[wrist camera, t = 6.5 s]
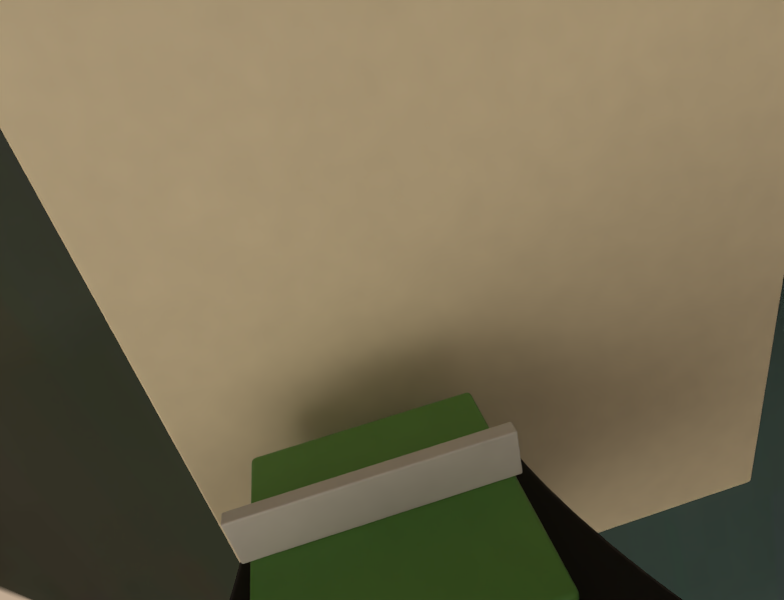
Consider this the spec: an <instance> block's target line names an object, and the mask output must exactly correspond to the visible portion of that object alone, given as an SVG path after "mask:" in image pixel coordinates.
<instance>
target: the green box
mask: <svg viewBox="0 0 784 600" xmlns="http://www.w3.org/2000/svg"><path fill="white" fill-rule="evenodd" d="M519 474H522V465H521V457H520V449H519V441H518V434H517V430H516V428H515V427H514V425H513V424H512V422H508V423H505V424H501V425H498V426H495V427H492V428H489V426H488V424H487V423H486V421H485V419H484V417H483V415H482V413H481V412H480V410H479V408H478V406H477V404H476V402H475V401H474V399H473V397H472V395H471V394H470V393H463V394H460V395H457V396H453V397H450V398H447V399H444V400H440V401H437V402H434V403H431V404H428V405H424V406H421V407H418V408H415V409H411V410H408V411H405V412H402V413H398V414H395V415H392V416H389V417H386V418H382V419H379V420H376V421H373V422H369V423H366V424H363V425H360V426H356V427H353V428H350V429H347V430H343V431H340V432H337V433H334V434H331V435H327V436H324V437H321V438H318V439H314V440H311V441H308V442H305V443H301V444H298V445H295V446H292V447H289V448H285V449H282V450H279V451H276V452H272V453H269V454H266V455H263V456H259V457H256V458H254V459H253V460H252V472H251V504H248V505H245V506H242V507H239V508H236V509H232V510H229V511H226V512H223V513H222V516H221V527H222V528H223V530H224V532H225V534H226V536H227V538H228V539H229V541H230V543H231V545H232V547H233V548H234V550H235V552H236V554H237V556H238V558H239V559H240V561H241V563H242V564H245V563H248V562H250V600H579V591H578V590H577V588H576V586H575V584H574V582H573V580H572V579H571V577H570V575H569V573H568V571H567V569H566V568H565V566H564V564H563V562H562V560H561V558H560V557H559V555H558V553H557V551H556V549H555V547H554V546H553V544H552V542H551V540H550V538H549V536H548V535H547V533H546V531H545V529H544V527H543V525H542V524H541V522H540V520H539V518H538V516H537V514H536V513H535V511H534V509H533V507H532V505H531V503H530V502H529V500H528V498H527V496H526V494H525V492H524V491H523V489H522V487H521V485H520V483H519V481H518V479H517V478H516V475H519Z"/></svg>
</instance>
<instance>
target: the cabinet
mask: <svg viewBox="0 0 784 600" xmlns="http://www.w3.org/2000/svg"><path fill="white" fill-rule="evenodd" d="M0 128H1V130H2V132H3V134H4V136H5V138H6V139H7V141H8V143H9V145H10V147H11V148H12V150H13V152H14V154H15V156H16V158H17V159H18V161H19V163H20V165H21V167H22V168H23V170H24V172H25V174H26V176H27V177H28V179H29V181H30V183H31V185H32V187H33V188H34V190H35V192H36V194H37V196H38V197H39V199H40V201H41V203H42V205H43V206H44V208H45V210H46V212H47V214H48V216H49V217H50V219H51V221H52V223H53V225H54V226H55V228H56V230H57V232H58V234H59V236H60V237H61V239H62V241H63V243H64V245H65V246H66V248H67V250H68V252H69V254H70V255H71V257H72V259H73V261H74V263H75V265H76V266H77V268H78V270H79V272H80V274H81V275H82V277H83V279H84V281H85V283H86V284H87V286H88V288H89V290H90V292H91V294H92V295H93V297H94V299H95V301H96V303H97V304H98V306H99V308H100V310H101V312H102V314H103V315H104V317H105V319H106V321H107V323H108V324H109V326H110V328H111V330H112V332H113V333H114V335H115V337H116V339H117V341H118V343H119V344H120V346H121V348H122V350H123V352H124V353H125V355H126V357H127V359H128V361H129V362H130V364H131V366H132V368H133V370H134V372H135V373H136V375H137V377H138V379H139V381H140V382H141V384H142V386H143V388H144V390H145V391H146V393H147V395H148V397H149V399H150V401H151V402H152V404H153V406H154V408H155V410H156V411H157V413H158V415H159V417H160V419H161V421H162V422H163V424H164V426H165V428H166V430H167V431H168V433H169V435H170V437H171V439H172V440H173V442H174V444H175V446H176V448H177V450H178V451H179V453H180V455H181V457H182V459H183V460H184V462H185V464H186V466H187V468H188V469H189V471H190V473H191V475H192V477H193V479H194V480H195V482H196V484H197V486H198V488H199V489H200V491H201V493H202V495H203V497H204V499H205V500H206V502H207V504H208V506H209V508H210V509H211V511H212V513H213V515H214V517H215V518H216V520H217V522H218V524H219V526H220V528H221V529H222V531H223V533H224V535H225V537H226V538H227V536H226V534H225V532H224V530H223V528H222V527H221V516H222V513H223V512H226V511H229V510H232V509H236V508H239V507H242V506H245V505H248V504H251V472H252V460H253V459H254V458H256V457H259V456H263V455H266V454H269V453H272V452H276V451H279V450H282V449H285V448H289V447H292V446H295V445H298V444H301V443H305V442H308V441H311V440H314V439H318V438H321V437H324V436H327V435H331V434H334V433H337V432H340V431H343V430H347V429H350V428H353V427H356V426H360V425H363V424H366V423H369V422H373V421H376V420H379V419H382V418H386V417H389V416H392V415H395V414H398V413H402V412H405V411H408V410H411V409H415V408H418V407H421V406H424V405H428V404H431V403H434V402H437V401H440V400H444V399H447V398H450V397H453V396H457V395H460V394H463V393H470V394H471V395H472V397H473V399H474V401H475V402H476V404H477V406H478V408H479V410H480V412H481V413H482V415H483V417H484V419H485V421H486V423H487V424H488V426H489V428H492V427H495V426H498V425H501V424H505V423H508V422H512V424H513V425H514V427H515V428H516V430H517V434H518V441H519V449H520V457H521V459H522V460H523V461H524V462H525V464H526V465H527V466H528V467H529V468H530V469H531V470H532V471H533V472H534V473H535V474H536V475H537V476H538V478H539V479H540V480H541V481H542V482H543V483H544V484H545V485H546V486H547V487H548V488H549V489H550V490H551V491H552V492H553V493H554V494H556V495H557V496H558V497H559V498H560V499H561V500H562V501H563V502H564V503H565V504H566V505H567V506H568V507H569V508H570V509H571V510H572V511H573V512H575V513H576V514H577V515H578V516H579V517H580V518H581V519H582V520H583V521H585V522H586V523H587V524H588V525H589V526H590V527H591V528H593V529H594V530H595V531H596V532H597V533H599V532H602V531H604V530H607V529H610V528H613V527H616V526H619V525H622V524H625V523H628V522H631V521H634V520H637V519H640V518H643V517H646V516H649V515H652V514H655V513H658V512H661V511H664V510H667V509H670V508H673V507H675V506H678V505H681V504H684V503H687V502H690V501H693V500H696V499H699V498H702V497H705V496H708V495H711V494H714V493H717V492H720V491H723V490H726V489H729V488H732V487H735V486H738V485H741V484H744V483H746V482H749V481H750V479H751V473H752V467H753V461H754V455H755V448H756V442H757V436H758V430H759V424H760V418H761V412H762V406H763V399H764V393H765V387H766V381H767V375H768V369H769V363H770V356H771V350H772V344H773V338H774V332H775V326H776V320H777V313H778V307H779V301H780V295H781V289H782V283H783V277H784V0H0ZM227 540H228V542H229V544H230V546H231V547H232V545H231V543H230V541H229V539H228V538H227ZM232 549H233V551H234V553H235V555H236V557H237V558H238V556H237V554H236V552H235V550H234V548H233V547H232ZM238 560H239V562H240V559H239V558H238Z"/></svg>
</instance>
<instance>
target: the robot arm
mask: <svg viewBox="0 0 784 600" xmlns="http://www.w3.org/2000/svg"><path fill="white" fill-rule="evenodd" d="M521 465H522V474H519V475H516V478H517V479H518V481H519V483H520V485H521V487H522V489H523V491H524V492H525V494H526V496H527V498H528V500H529V502H530V503H531V505H532V507H533V509H534V511H535V513H536V514H537V516H538V518H539V520H540V522H541V524H542V525H543V527H544V529H545V531H546V533H547V535H548V536H549V538H550V540H551V542H552V544H553V546H554V547H555V549H556V551H557V553H558V555H559V557H560V558H561V560H562V562H563V564H564V566H565V568H566V569H567V571H568V573H569V575H570V577H571V579H572V580H573V582H574V584H575V586H576V588H577V590H578V591H579V600H682V599H681V598H679V597H678V596H677V595H675V594H674V593H672V592H671V591H670V590H668V589H667V588H666V587H664V586H663V585H662V584H660V583H659V582H658V581H656V580H655V579H654V578H652V577H651V576H650V575H648V574H647V573H646V572H645V571H643V570H642V569H641V568H640V567H638V566H637V565H636V564H635V563H633V562H632V561H631V560H629V559H628V558H627V557H626V556H624V555H623V554H622V553H621V552H620V551H618V550H617V549H616V548H615V547H614V546H612V545H611V544H610V543H609V542H608V541H606V540H605V539H604V538H603V537H602V536H601V535H599V534H598V533H597V532H596V531H595V530H594V529H593V528H591V527H590V526H589V525H588V524H587V523H586V522H585V521H583V520H582V519H581V518H580V517H579V516H578V515H577V514H576V513H575V512H573V511H572V510H571V509H570V508H569V507H568V506H567V505H566V504H565V503H564V502H563V501H562V500H561V499H560V498H559V497H558V496H557V495H556V494H554V493H553V492H552V491H551V490H550V489H549V488H548V487H547V486H546V485H545V484H544V483H543V482H542V481H541V480H540V479H539V478H538V476H537V475H536V474H535V473H534V472H533V471H532V470H531V469H530V468H529V467H528V466H527V465H526V464H525V462H524V461H523V460H522V459H521ZM230 600H250V562H248V563H245V564H242V563H241V561H240V565H239V569H238V572H237V576H236V580H235V583H234V587H233V590H232V593H231V597H230Z"/></svg>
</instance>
